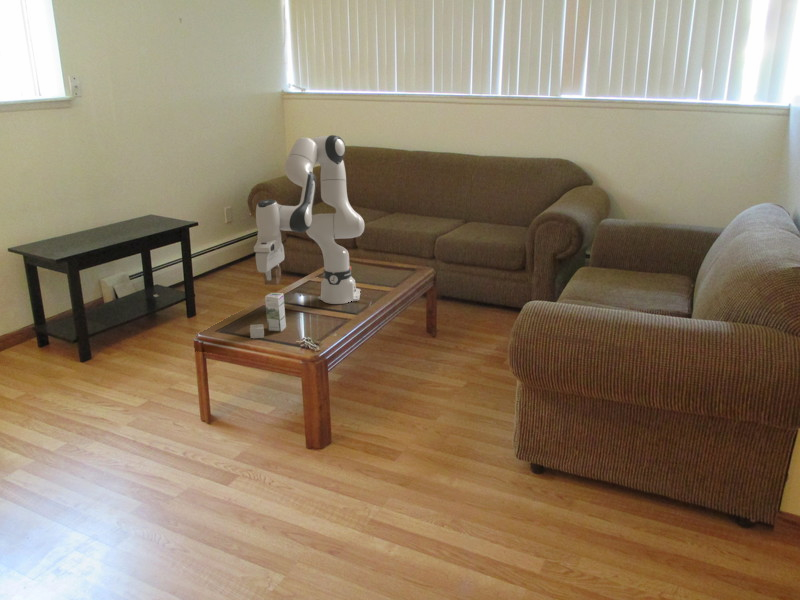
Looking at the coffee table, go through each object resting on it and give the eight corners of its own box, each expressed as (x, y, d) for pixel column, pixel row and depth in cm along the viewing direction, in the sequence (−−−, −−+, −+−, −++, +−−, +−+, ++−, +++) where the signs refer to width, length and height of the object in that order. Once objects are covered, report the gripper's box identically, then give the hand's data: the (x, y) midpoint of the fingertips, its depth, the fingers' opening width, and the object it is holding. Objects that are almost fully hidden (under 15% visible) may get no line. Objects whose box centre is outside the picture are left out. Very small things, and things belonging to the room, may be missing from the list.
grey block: (251, 334, 268) (250, 324, 266) (264, 333, 268) (263, 323, 267) (250, 339, 263) (249, 329, 262) (263, 338, 264) (263, 328, 262)
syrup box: (286, 327, 274) (283, 292, 270) (280, 332, 269) (278, 297, 264) (273, 326, 275) (270, 292, 271) (267, 331, 270) (264, 296, 265)
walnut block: (269, 280, 269) (268, 266, 267) (281, 281, 268) (280, 266, 266) (264, 284, 264) (263, 269, 262) (276, 284, 263) (275, 269, 261)
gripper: (272, 236, 271) (274, 270, 276) (251, 248, 252) (255, 284, 257) (287, 237, 270) (289, 270, 275) (267, 249, 251) (270, 285, 255)
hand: (272, 277), depth 265 cm, fingers closed on walnut block, 5 cm apart
